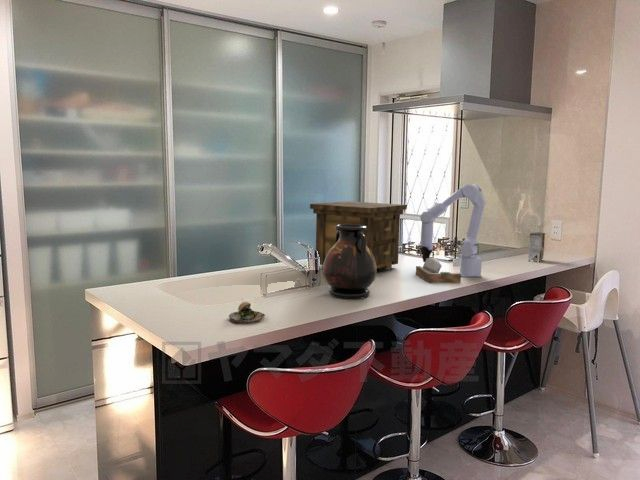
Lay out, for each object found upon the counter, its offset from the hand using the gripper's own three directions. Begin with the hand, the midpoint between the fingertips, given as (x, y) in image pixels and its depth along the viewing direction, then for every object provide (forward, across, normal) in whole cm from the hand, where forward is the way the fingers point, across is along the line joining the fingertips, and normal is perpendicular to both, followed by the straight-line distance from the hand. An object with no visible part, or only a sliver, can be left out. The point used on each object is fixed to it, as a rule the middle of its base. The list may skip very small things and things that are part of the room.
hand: (425, 261), depth 267 cm
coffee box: (+4, -27, +74) cm, 79 cm away
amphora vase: (+4, +51, -48) cm, 70 cm away
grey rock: (+4, +10, 0) cm, 11 cm away
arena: (+4, +19, 0) cm, 20 cm away
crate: (+5, -6, -34) cm, 35 cm away
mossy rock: (+5, +84, -88) cm, 122 cm away
